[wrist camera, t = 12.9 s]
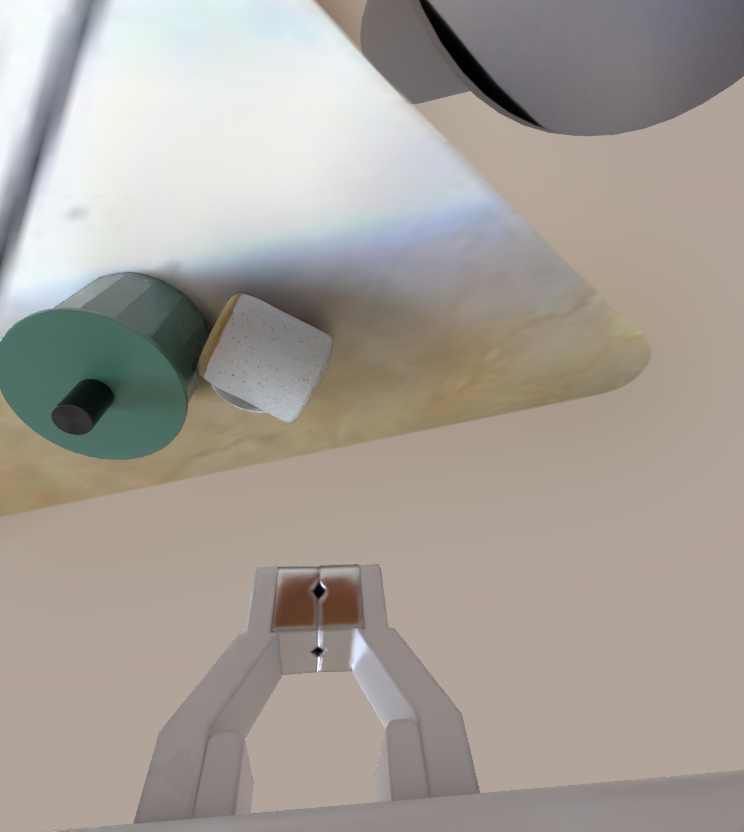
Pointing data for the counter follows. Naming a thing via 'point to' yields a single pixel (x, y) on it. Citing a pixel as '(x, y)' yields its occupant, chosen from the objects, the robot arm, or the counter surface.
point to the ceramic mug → (264, 358)
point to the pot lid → (92, 383)
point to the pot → (150, 316)
